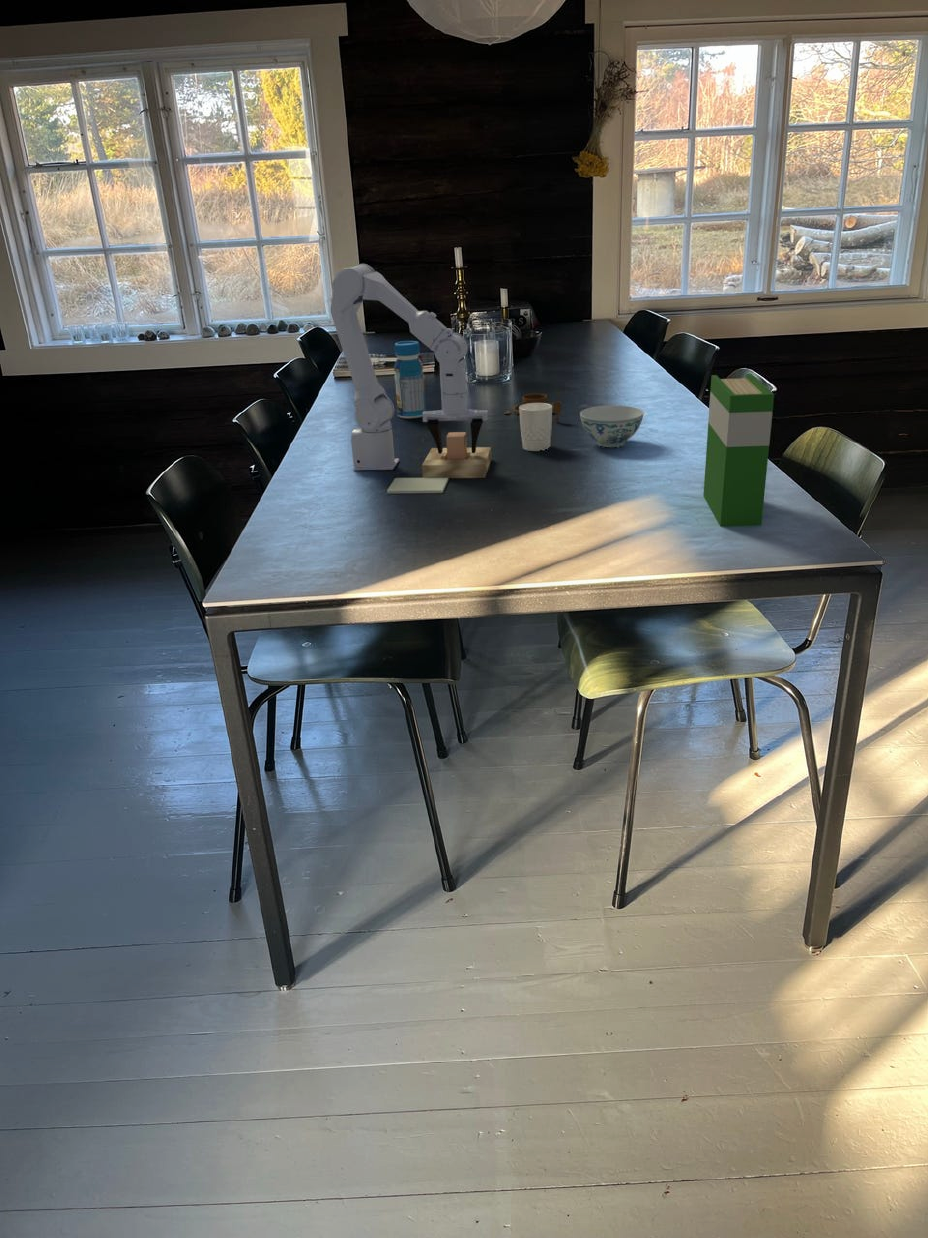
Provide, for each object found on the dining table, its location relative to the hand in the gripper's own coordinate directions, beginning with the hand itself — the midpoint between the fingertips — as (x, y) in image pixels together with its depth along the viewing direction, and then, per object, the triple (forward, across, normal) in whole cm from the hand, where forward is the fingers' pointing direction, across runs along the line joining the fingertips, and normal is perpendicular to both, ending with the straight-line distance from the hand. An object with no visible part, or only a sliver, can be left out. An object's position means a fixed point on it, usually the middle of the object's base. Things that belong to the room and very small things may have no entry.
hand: (457, 452), depth 208 cm
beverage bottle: (+4, -20, +52) cm, 56 cm away
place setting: (+5, +15, +50) cm, 52 cm away
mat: (+4, -7, -13) cm, 15 cm away
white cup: (+4, +17, +17) cm, 24 cm away
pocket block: (+4, 0, 0) cm, 4 cm away
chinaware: (+4, +35, +19) cm, 40 cm away
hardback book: (+4, +57, -29) cm, 64 cm away
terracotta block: (+4, 0, 0) cm, 4 cm away
